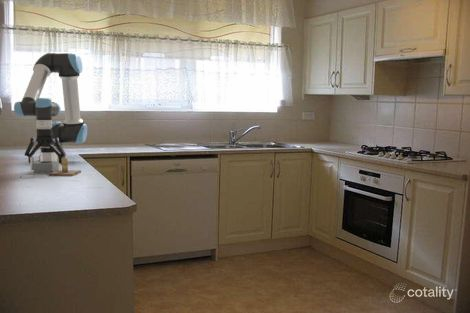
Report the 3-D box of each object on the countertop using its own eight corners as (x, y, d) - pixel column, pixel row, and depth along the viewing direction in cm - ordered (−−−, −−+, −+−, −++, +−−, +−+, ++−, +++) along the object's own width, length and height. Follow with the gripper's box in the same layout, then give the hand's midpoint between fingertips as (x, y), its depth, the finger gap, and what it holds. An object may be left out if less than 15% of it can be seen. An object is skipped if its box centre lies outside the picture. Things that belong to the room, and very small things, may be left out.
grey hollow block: (41, 170, 260) (40, 161, 260) (58, 170, 260) (57, 161, 260) (33, 173, 252) (33, 163, 251) (51, 173, 251) (51, 163, 251)
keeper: (57, 172, 256) (57, 156, 255) (80, 172, 256) (80, 156, 255) (48, 175, 244) (47, 159, 243) (72, 175, 244) (72, 159, 243)
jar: (60, 168, 269) (59, 146, 268) (56, 170, 261) (55, 147, 260) (42, 168, 268) (42, 146, 267) (38, 170, 260) (37, 147, 259)
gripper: (16, 128, 250) (18, 170, 252) (66, 129, 249) (67, 170, 252) (23, 127, 257) (24, 168, 259) (71, 128, 257) (72, 169, 259)
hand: (45, 169), depth 255 cm, fingers open, 13 cm apart
